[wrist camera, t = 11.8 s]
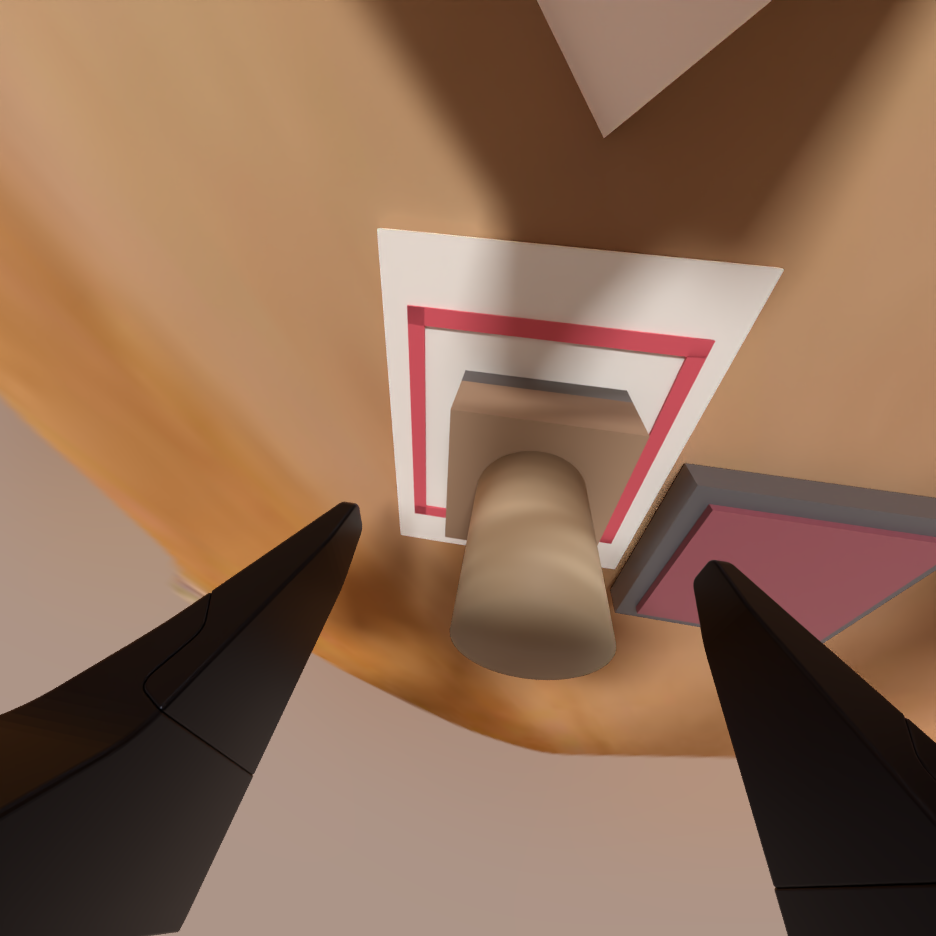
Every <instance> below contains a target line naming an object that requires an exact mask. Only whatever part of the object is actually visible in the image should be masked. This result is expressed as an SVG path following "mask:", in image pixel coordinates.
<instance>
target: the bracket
mask: <svg viewBox="0 0 936 936" xmlns="http://www.w3.org/2000/svg"><path fill="white" fill-rule="evenodd" d="M771 1H772V0H537V2H538V4H539V6H540V8H541V10H542V12H543V14H544V16H545V18H546V20H547V22H548V24H549V27H550V29H551V31H552V33H553V35H554V37H555V39H556V41H557V43H558V45H559V47H560V49H561V51H562V53H563V55H564V57H565V60H566V62H567V64H568V66H569V68H570V70H571V72H572V74H573V76H574V78H575V80H576V82H577V84H578V86H579V88H580V90H581V93H582V95H583V97H584V99H585V101H586V103H587V105H588V107H589V109H590V111H591V113H592V115H593V117H594V119H595V121H596V123H597V125H598V128H599V130H600V132H601V134H602V136H603V138H605V137H606V136H607V135H609V134H610V133H611V132H612V131H613V130H615V129H616V128H617V127H618V126H620V125H621V124H622V123H623V122H624V121H626V120H627V119H628V118H629V117H631V116H632V115H633V114H634V113H635V112H637V111H638V110H639V109H640V108H642V107H643V106H644V105H645V104H646V103H648V102H649V101H650V100H651V99H652V98H654V97H655V96H656V95H657V94H659V93H660V92H661V91H662V90H663V89H665V88H666V87H667V86H668V85H670V84H671V83H672V82H673V81H674V80H676V79H677V78H678V77H679V76H680V75H682V74H683V73H684V72H685V71H687V70H688V69H689V68H690V67H691V66H693V65H694V64H695V63H696V62H698V61H699V60H700V59H701V58H702V57H704V56H705V55H706V54H707V53H709V52H710V51H711V50H712V49H713V48H715V47H716V46H717V45H718V44H719V43H721V42H722V41H723V40H724V39H726V38H727V37H728V36H729V35H730V34H732V33H733V32H734V31H735V30H737V29H738V28H739V27H740V26H741V25H743V24H744V23H745V22H746V21H747V20H749V19H750V18H751V17H752V16H754V15H755V14H756V13H757V12H758V11H760V10H761V9H762V8H763V7H765V6H766V5H767V4H768V3H769V2H771Z"/></svg>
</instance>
